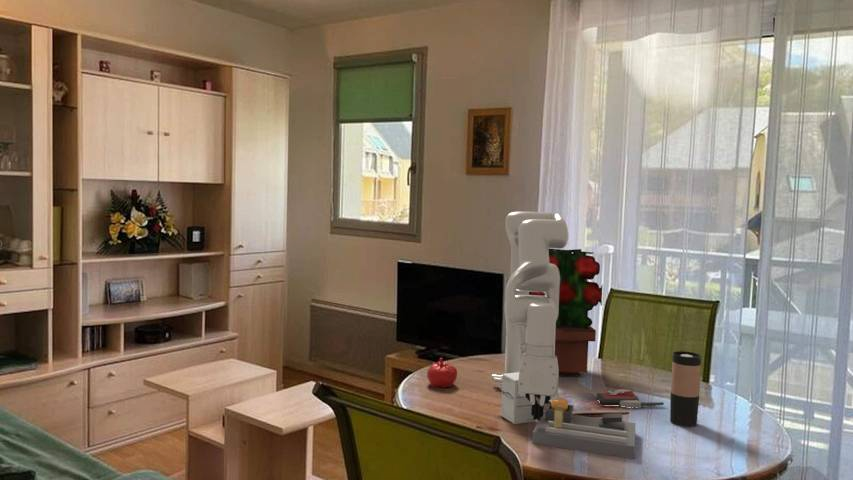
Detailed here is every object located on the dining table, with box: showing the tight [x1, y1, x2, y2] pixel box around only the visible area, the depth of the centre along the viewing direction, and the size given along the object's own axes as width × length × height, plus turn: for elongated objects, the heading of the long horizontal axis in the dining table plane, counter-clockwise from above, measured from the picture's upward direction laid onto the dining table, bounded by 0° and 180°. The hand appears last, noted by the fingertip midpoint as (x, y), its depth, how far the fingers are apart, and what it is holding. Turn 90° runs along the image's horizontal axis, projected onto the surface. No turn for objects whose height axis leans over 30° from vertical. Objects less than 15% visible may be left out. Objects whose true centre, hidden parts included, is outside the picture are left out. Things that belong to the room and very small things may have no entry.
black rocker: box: [601, 413, 623, 423], centre depth 172 cm, size 5×4×1 cm
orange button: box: [550, 397, 569, 412], centre depth 177 cm, size 4×4×3 cm
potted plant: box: [528, 248, 603, 377], centre depth 236 cm, size 22×22×45 cm
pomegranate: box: [426, 357, 458, 388], centre depth 215 cm, size 10×10×9 cm
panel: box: [531, 401, 636, 459], centre depth 170 cm, size 25×18×6 cm
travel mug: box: [669, 350, 702, 428], centre depth 184 cm, size 8×8×20 cm
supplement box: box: [500, 372, 536, 425], centre depth 184 cm, size 7×7×13 cm
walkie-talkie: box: [596, 388, 665, 409], centre depth 201 cm, size 9×4×20 cm
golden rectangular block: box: [554, 407, 564, 429], centre depth 168 cm, size 2×3×5 cm, turn 162°
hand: (537, 418), depth 170 cm, fingers closed
